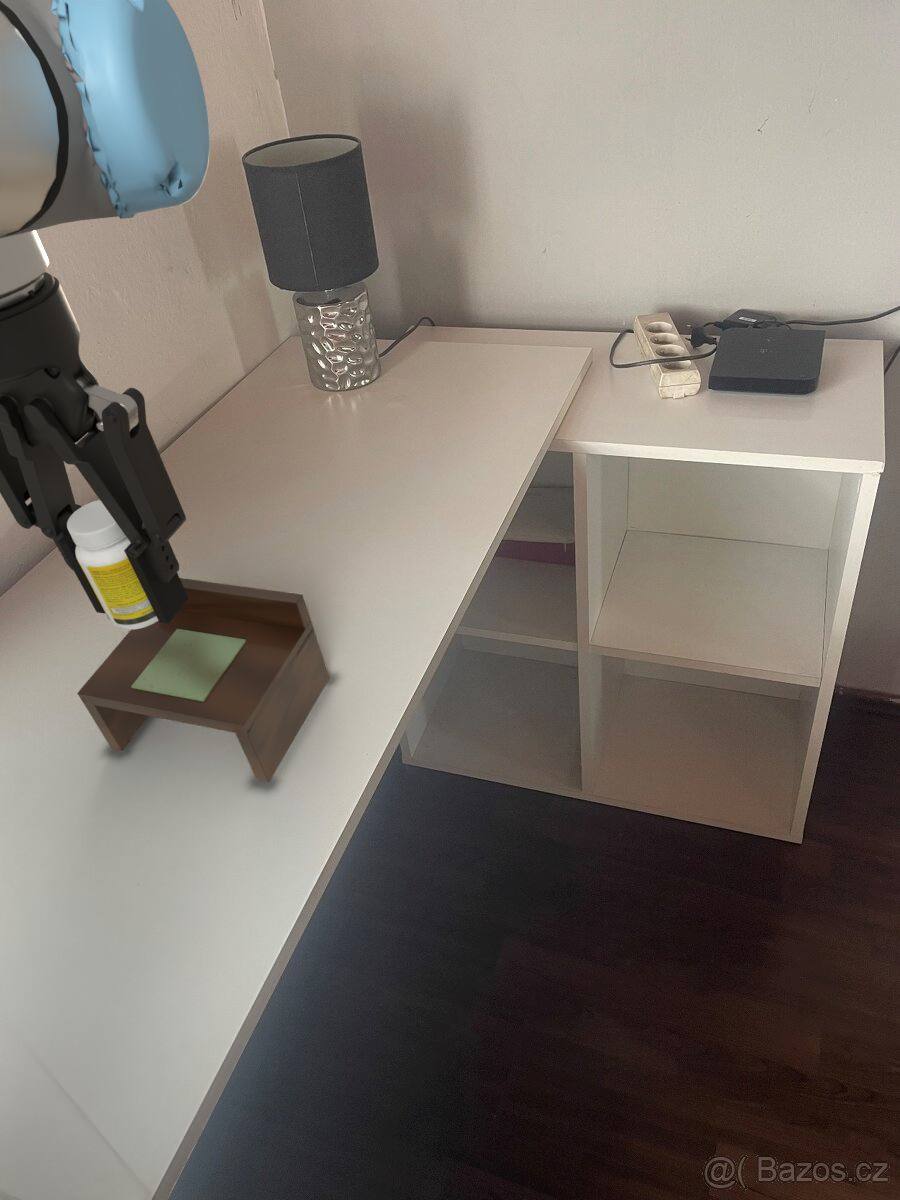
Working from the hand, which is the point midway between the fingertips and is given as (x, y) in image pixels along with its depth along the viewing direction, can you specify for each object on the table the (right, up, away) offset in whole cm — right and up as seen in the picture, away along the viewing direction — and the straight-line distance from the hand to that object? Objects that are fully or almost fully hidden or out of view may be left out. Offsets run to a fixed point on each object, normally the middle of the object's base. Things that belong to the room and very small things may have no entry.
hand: (142, 604), depth 62 cm
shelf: (+2, -10, +15) cm, 18 cm away
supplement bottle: (0, 0, 0) cm, 1 cm away
